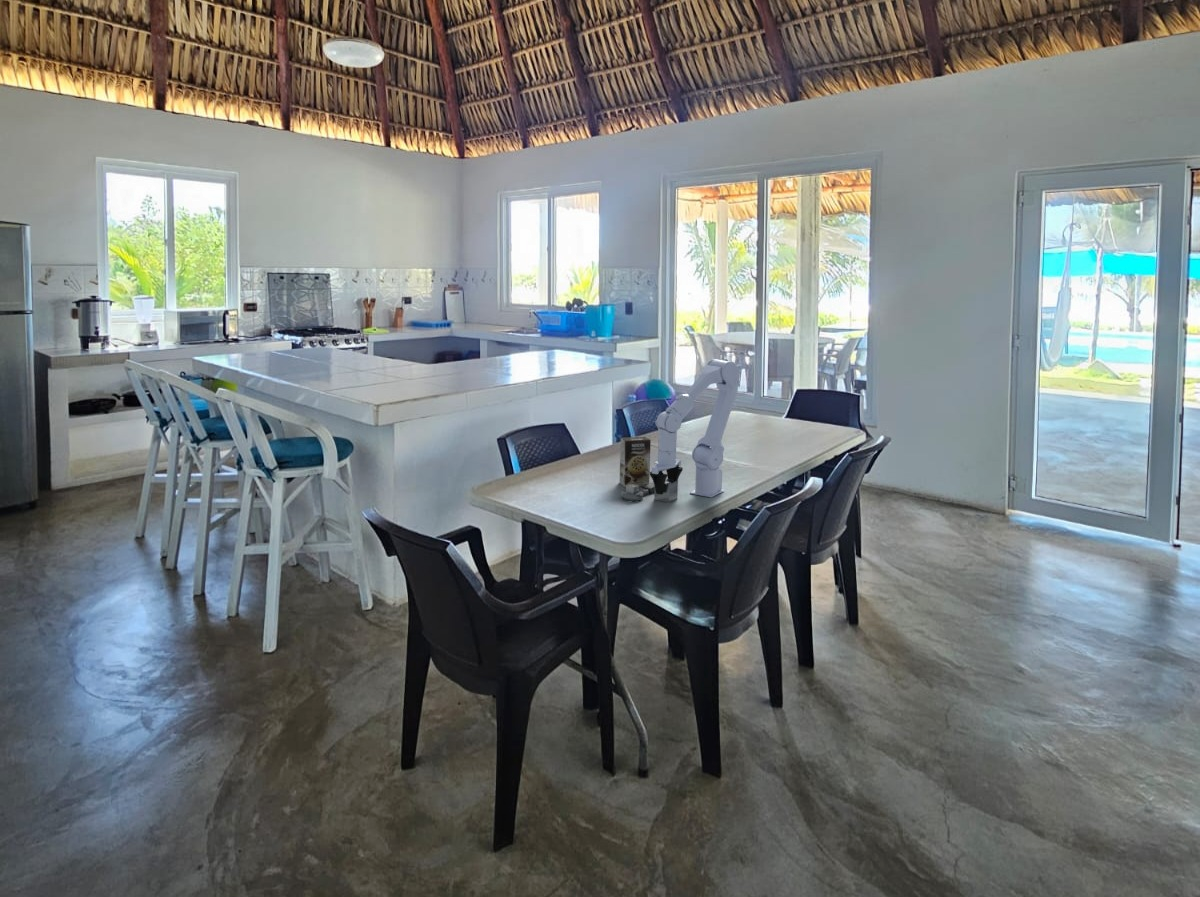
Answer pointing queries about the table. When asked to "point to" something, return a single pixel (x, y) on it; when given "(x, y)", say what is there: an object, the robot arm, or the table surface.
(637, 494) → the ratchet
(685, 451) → the table surface
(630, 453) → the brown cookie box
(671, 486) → the grey brushed cube
